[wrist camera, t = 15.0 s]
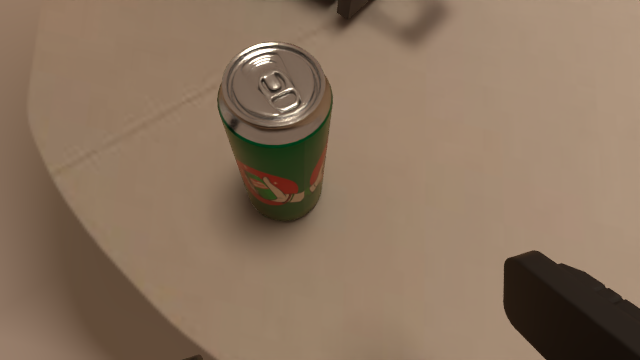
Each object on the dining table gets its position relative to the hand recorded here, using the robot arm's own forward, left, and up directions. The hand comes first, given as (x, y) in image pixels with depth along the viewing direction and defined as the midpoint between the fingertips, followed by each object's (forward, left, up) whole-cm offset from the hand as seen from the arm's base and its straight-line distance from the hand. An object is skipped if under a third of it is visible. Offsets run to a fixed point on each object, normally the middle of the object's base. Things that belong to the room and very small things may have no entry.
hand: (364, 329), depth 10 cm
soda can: (-1, +10, -15) cm, 18 cm away
